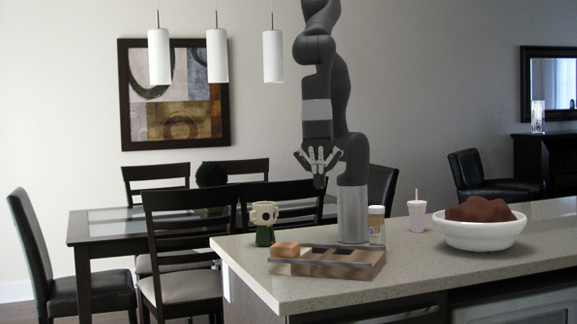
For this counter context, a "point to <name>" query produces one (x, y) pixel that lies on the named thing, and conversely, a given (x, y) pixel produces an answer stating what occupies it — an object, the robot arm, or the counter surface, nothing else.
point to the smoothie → (417, 214)
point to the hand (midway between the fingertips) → (319, 188)
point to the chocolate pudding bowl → (480, 225)
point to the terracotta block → (285, 250)
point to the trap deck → (332, 262)
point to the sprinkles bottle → (376, 225)
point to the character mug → (264, 221)
